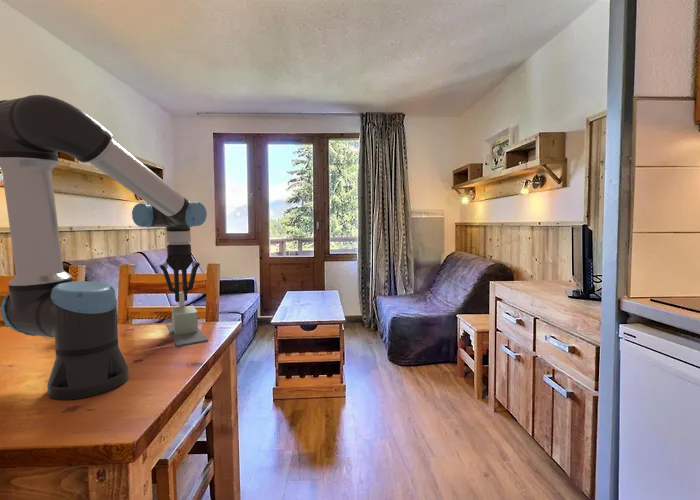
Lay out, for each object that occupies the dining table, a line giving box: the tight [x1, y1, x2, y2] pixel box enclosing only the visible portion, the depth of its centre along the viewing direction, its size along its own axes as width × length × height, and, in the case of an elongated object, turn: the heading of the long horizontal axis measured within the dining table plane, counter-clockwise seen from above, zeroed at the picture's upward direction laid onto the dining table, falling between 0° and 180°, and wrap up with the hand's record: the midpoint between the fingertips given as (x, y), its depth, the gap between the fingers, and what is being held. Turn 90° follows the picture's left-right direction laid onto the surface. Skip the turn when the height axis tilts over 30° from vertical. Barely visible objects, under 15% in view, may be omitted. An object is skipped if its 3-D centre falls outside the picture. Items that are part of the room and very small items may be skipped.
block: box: [171, 304, 199, 335], centre depth 124 cm, size 7×7×7 cm
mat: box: [165, 324, 209, 348], centre depth 124 cm, size 28×9×1 cm, turn 33°
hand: (181, 310), depth 128 cm, fingers closed
